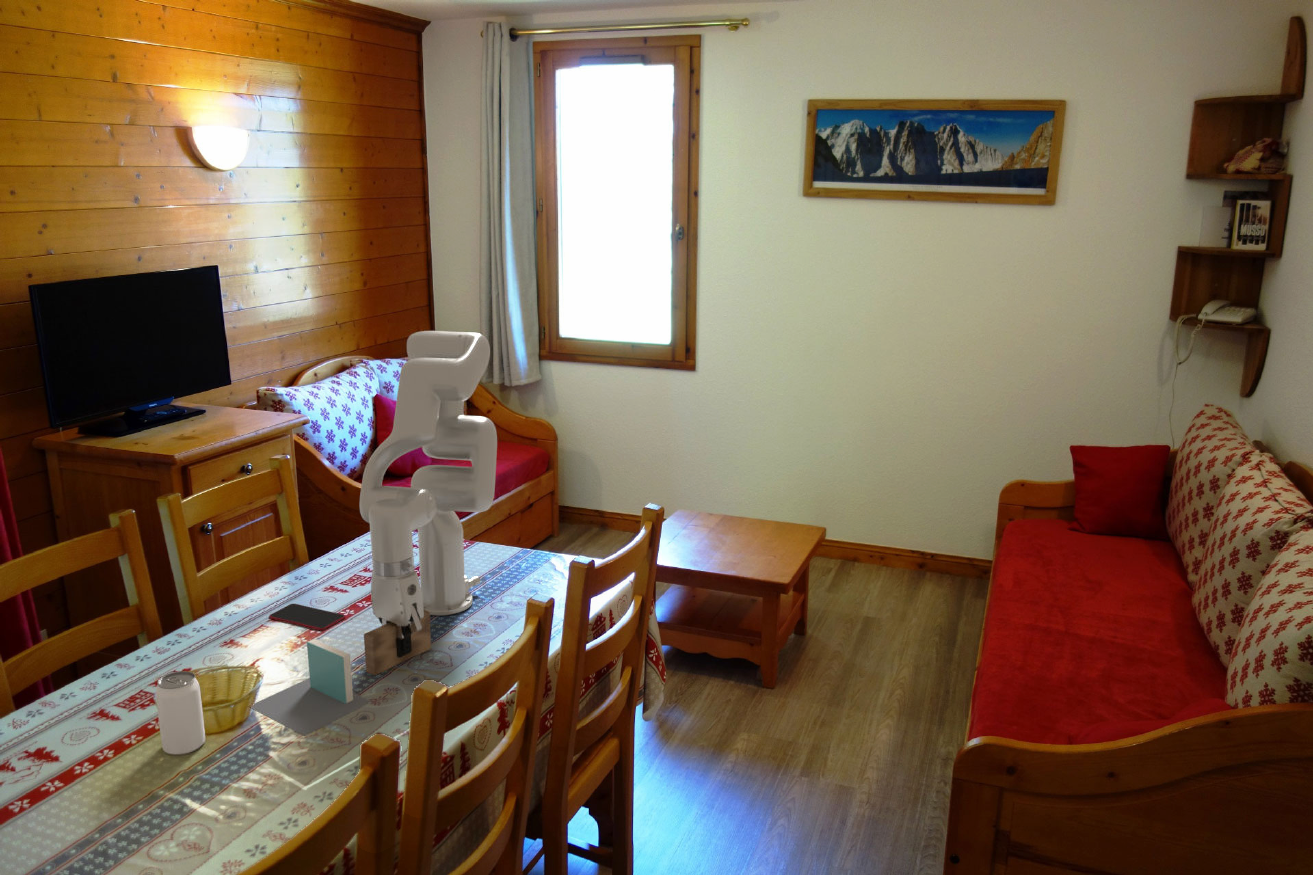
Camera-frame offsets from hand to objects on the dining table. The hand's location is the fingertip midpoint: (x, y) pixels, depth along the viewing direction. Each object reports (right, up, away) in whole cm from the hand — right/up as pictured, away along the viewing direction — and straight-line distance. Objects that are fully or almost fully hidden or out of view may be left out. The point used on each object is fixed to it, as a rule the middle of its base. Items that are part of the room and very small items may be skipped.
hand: (399, 651), depth 191 cm
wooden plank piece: (0, -2, +1) cm, 2 cm away
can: (-28, -9, -28) cm, 41 cm away
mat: (-12, -6, -16) cm, 21 cm away
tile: (-9, -5, -12) cm, 16 cm away
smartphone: (-24, +3, +19) cm, 31 cm away
